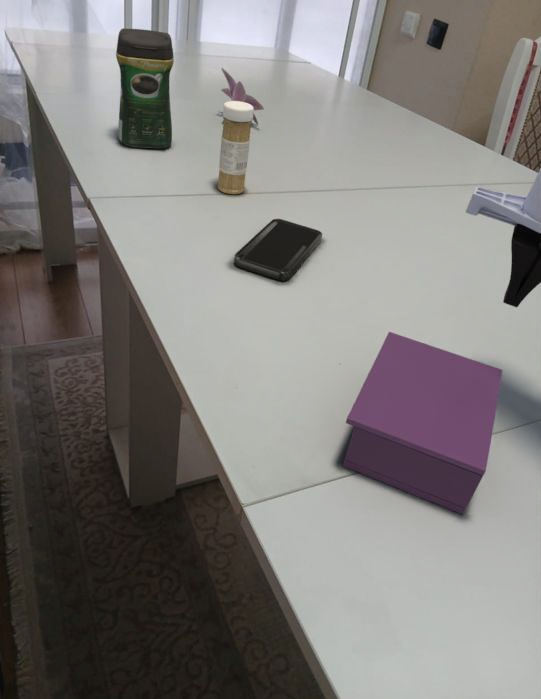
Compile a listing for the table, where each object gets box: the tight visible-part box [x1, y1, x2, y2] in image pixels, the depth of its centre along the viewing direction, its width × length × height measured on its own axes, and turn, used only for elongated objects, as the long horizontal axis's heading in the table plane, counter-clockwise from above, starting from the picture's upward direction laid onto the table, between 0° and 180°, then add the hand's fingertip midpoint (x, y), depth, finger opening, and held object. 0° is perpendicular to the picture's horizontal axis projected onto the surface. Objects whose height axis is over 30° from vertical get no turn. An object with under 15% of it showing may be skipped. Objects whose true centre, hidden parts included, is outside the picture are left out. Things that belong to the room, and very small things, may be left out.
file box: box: [342, 426, 484, 515], centre depth 55 cm, size 11×15×5 cm
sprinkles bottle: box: [217, 100, 255, 195], centre depth 93 cm, size 5×5×14 cm
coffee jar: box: [115, 27, 175, 149], centre depth 104 cm, size 10×8×19 cm
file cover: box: [345, 331, 504, 476], centre depth 53 cm, size 11×15×1 cm
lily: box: [221, 67, 265, 126], centre depth 124 cm, size 12×12×10 cm
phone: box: [233, 218, 323, 282], centre depth 82 cm, size 8×1×15 cm
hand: (511, 300), depth 58 cm, fingers closed
